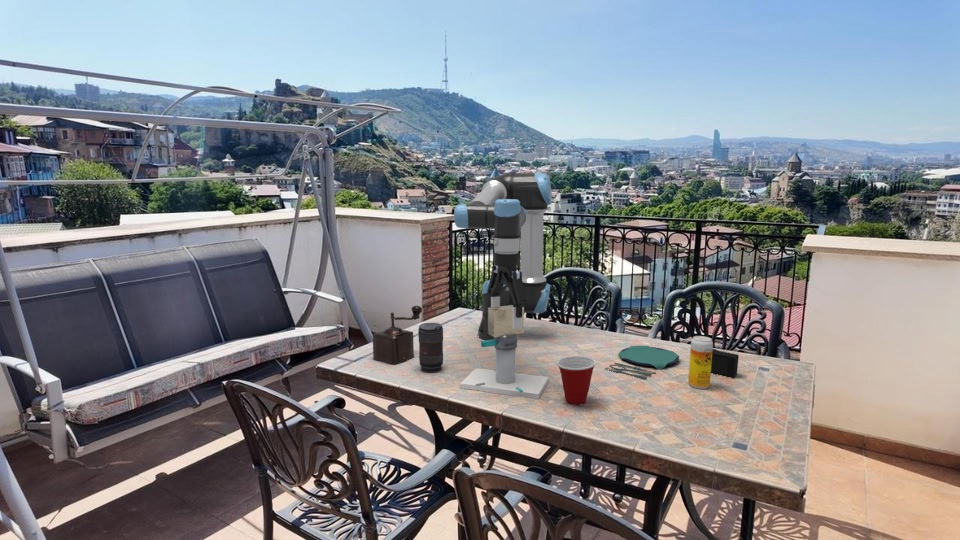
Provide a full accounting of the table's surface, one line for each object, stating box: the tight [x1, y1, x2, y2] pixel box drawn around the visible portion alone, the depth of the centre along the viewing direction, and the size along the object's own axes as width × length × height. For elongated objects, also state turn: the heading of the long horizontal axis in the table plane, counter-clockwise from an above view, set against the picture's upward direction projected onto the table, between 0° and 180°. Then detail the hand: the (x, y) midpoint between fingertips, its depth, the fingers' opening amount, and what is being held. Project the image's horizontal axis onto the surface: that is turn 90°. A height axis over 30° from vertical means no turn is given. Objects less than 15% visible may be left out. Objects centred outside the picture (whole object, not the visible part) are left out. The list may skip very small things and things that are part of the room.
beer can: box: [687, 335, 714, 390], centre depth 158 cm, size 6×6×15 cm
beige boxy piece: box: [480, 305, 525, 350], centre depth 156 cm, size 13×7×12 cm, turn 116°
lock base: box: [459, 348, 550, 400], centre depth 159 cm, size 14×24×12 cm, turn 71°
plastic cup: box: [556, 355, 597, 406], centre depth 147 cm, size 11×11×12 cm
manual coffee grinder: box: [372, 305, 423, 366], centre depth 184 cm, size 16×11×18 cm
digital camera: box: [711, 348, 740, 379], centre depth 170 cm, size 10×5×7 cm, turn 48°
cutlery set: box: [604, 345, 680, 380], centre depth 180 cm, size 20×30×2 cm, turn 138°
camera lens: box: [417, 322, 444, 373], centre depth 172 cm, size 8×8×15 cm
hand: (505, 322), depth 157 cm, fingers open, 13 cm apart
